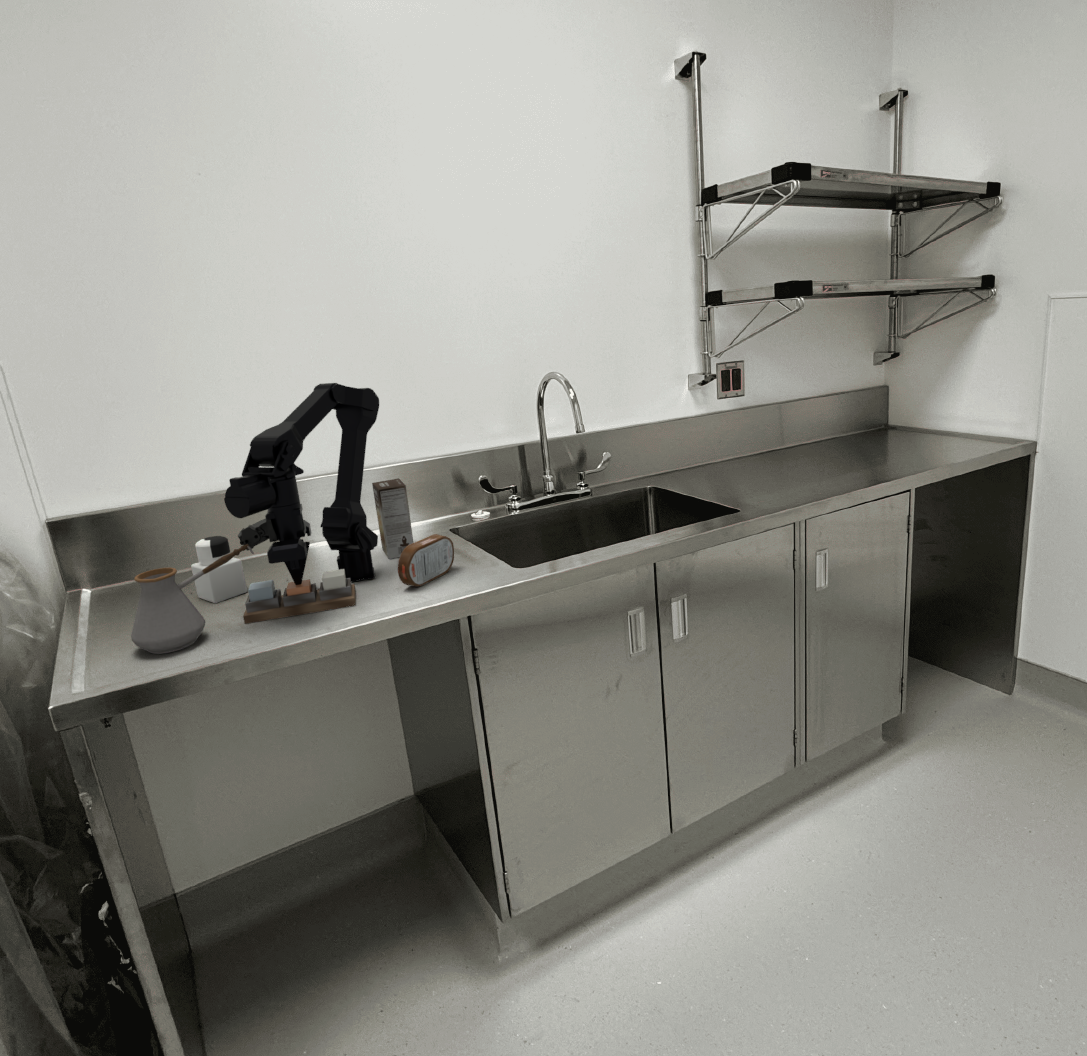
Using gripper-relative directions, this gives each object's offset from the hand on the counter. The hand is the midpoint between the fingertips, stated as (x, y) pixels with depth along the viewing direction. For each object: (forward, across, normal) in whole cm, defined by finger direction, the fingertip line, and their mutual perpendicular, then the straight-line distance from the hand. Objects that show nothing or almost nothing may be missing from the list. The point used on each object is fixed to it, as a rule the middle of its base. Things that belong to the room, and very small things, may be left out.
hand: (298, 584), depth 137 cm
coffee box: (+5, -27, +20) cm, 34 cm away
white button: (+2, 0, +7) cm, 7 cm away
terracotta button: (+3, 0, 0) cm, 3 cm away
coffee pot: (+5, +8, -16) cm, 18 cm away
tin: (+5, -4, +24) cm, 25 cm away
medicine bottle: (+5, -15, -16) cm, 23 cm away
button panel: (+4, 0, 0) cm, 5 cm away
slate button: (+2, 0, -6) cm, 7 cm away
